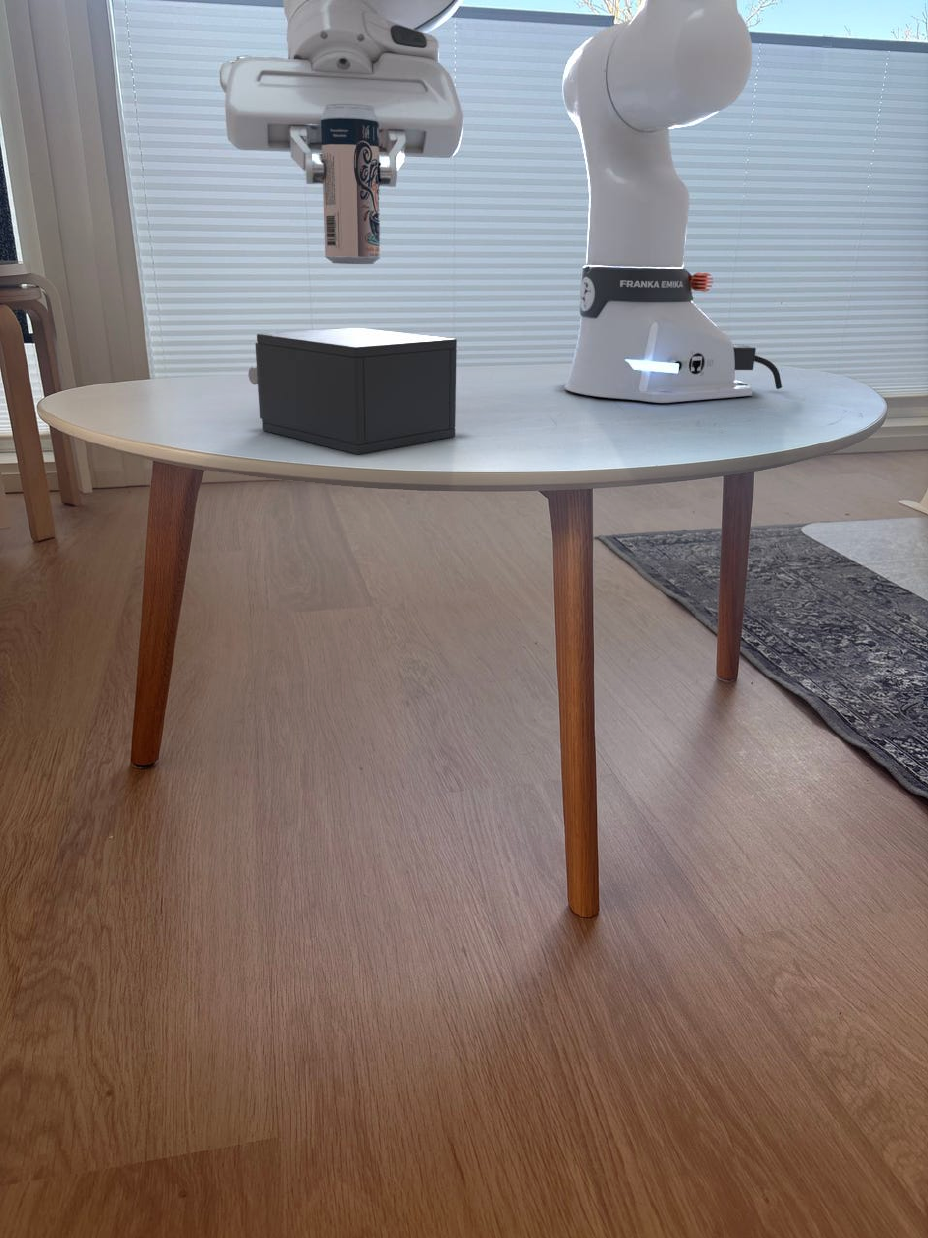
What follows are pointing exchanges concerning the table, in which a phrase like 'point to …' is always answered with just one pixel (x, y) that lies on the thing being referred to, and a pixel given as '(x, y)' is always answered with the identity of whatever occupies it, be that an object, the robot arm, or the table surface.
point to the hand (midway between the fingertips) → (352, 179)
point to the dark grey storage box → (358, 387)
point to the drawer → (256, 378)
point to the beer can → (351, 183)
